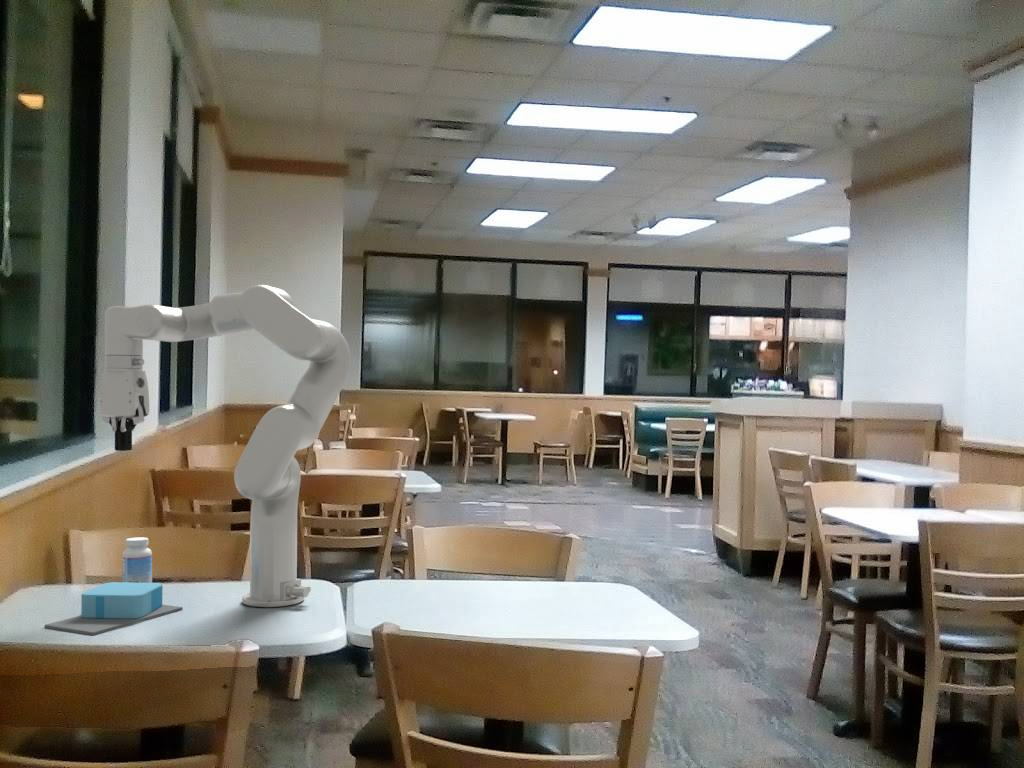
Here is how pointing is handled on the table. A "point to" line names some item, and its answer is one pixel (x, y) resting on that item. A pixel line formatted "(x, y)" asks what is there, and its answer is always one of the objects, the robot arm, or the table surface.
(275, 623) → the table surface
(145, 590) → the data package
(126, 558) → the pill bottle
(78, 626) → the mat
